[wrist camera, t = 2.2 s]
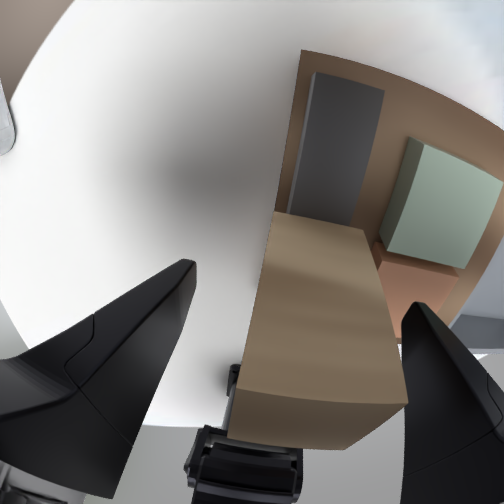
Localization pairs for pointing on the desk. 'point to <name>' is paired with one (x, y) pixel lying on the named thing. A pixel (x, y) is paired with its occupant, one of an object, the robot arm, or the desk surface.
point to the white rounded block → (5, 125)
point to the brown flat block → (393, 149)
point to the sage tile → (438, 206)
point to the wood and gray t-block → (321, 295)
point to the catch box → (484, 311)
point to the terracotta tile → (411, 282)
